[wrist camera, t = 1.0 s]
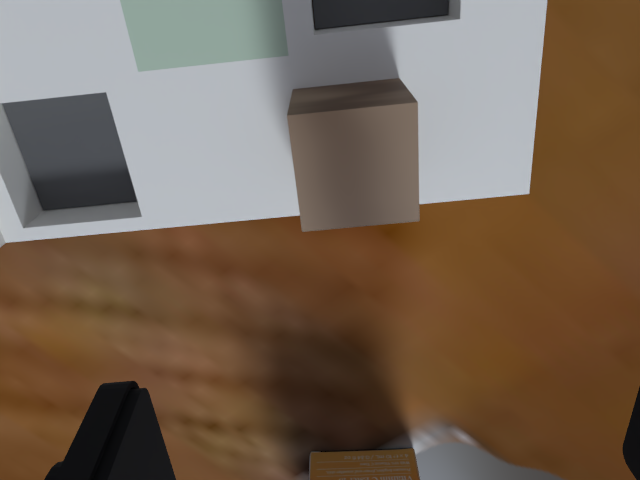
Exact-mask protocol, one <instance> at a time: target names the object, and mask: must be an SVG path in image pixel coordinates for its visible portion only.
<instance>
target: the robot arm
mask: <svg viewBox="0 0 640 480" xmlns="http://www.w3.org/2000/svg"><path fill="white" fill-rule="evenodd" d="M623 455H624V459H625V461H626V464H627V466H628V467H629V469H630V470H631V472H632V473H633V475H634V476H635V478H636V479H637V480H640V387H639V391H638V394H637V398H636V401H635V405H634V408H633V412H632V415H631V419H630V422H629V426H628V429H627V433H626V436H625V440H624V443H623ZM45 480H176V478H175V475H174V472H173V469H172V465H171V462H170V459H169V456H168V453H167V449H166V446H165V443H164V440H163V437H162V433H161V430H160V427H159V424H158V421H157V417H156V414H155V411H154V408H153V405H152V401H151V398H150V395H149V392H148V390H147V389H146V388H139V386H138V384H137V383H136V382H135V381H127V382H114V383H103V384H102V385H101V386H100V387H99V389H98V390H97V392H96V394H95V397H94V399H93V401H92V403H91V405H90V407H89V409H88V411H87V413H86V415H85V417H84V419H83V421H82V423H81V426H80V428H79V430H78V432H77V434H76V436H75V438H74V440H73V442H72V444H71V446H70V448H69V450H68V452H67V455H66V457H65V459H64V461H62V462H58V463H56V464H55V465H54V466H53V467H52V468H51V469H50V471H49V473H48V474H47V476H46V478H45Z"/></svg>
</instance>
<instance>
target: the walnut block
mask: <svg viewBox="0 0 640 480" xmlns="http://www.w3.org/2000/svg"><path fill="white" fill-rule="evenodd" d="M287 121H288V128H289V136H290V143H291V151H292V159H293V166H294V174H295V181H296V189H297V197H298V204H299V212H300V219H301V227H302V232H305V231H316V230H327V229H338V228H348V227H359V226H370V225H381V224H392V223H403V222H414V221H419V148H418V102H417V100H416V99H415V98H414V96H413V95H412V94H411V92H410V91H409V90H408V89H407V87H406V86H405V85H404V83H403V82H402V81H401V79H400V78H395V79H385V80H376V81H366V82H356V83H347V84H337V85H328V86H318V87H309V88H299V89H293V90H292V95H291V99H290V104H289V108H288V113H287Z"/></svg>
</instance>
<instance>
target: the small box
mask: <svg viewBox="0 0 640 480" xmlns="http://www.w3.org/2000/svg"><path fill="white" fill-rule="evenodd" d="M309 480H420V477H419V471H418V467H417V461H416V456H415V451H414V449H413V448H409V449H396V450H372V451H343V452H311V453H310V462H309Z"/></svg>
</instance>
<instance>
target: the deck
mask: <svg viewBox="0 0 640 480" xmlns="http://www.w3.org/2000/svg"><path fill="white" fill-rule="evenodd" d="M313 9H314V19H313ZM313 9H312V0H0V247H1V246H2V245H4V244H5V243H8V242H18V241H29V240H40V239H51V238H61V237H72V236H83V235H93V234H104V233H115V232H126V231H136V230H147V229H158V228H168V227H179V226H190V225H201V224H211V223H222V222H233V221H244V220H254V219H265V218H276V217H286V216H297V215H300V212H299V204H298V197H297V189H296V181H295V174H294V166H293V159H292V151H291V143H290V136H289V128H288V121H287V113H288V108H289V104H290V99H291V95H292V90H293V89H299V88H309V87H318V86H328V85H337V84H347V83H356V82H366V81H376V80H385V79H395V78H400V79H401V81H402V82H403V83H404V85H405V86H406V87H407V89H408V90H409V91H410V92H411V94H412V95H413V96H414V98H415V99H416V100H417V102H418V148H419V204H426V203H436V202H447V201H458V200H469V199H479V198H490V197H501V196H512V195H522V194H529V189H530V179H531V168H532V157H533V147H534V136H535V126H536V115H537V104H538V94H539V83H540V72H541V62H542V51H543V40H544V30H545V19H546V9H547V0H313ZM438 15H443V16H438ZM429 16H434V17H429ZM420 17H425V18H420ZM411 18H416V19H411ZM402 19H407V20H402ZM314 20H315V29H314ZM393 20H398V21H393ZM384 21H388V22H384ZM375 22H379V23H375ZM366 23H370V24H366ZM356 24H361V25H356ZM347 25H352V26H347ZM338 26H343V27H338ZM329 27H334V28H329ZM320 28H325V29H320Z"/></svg>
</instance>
